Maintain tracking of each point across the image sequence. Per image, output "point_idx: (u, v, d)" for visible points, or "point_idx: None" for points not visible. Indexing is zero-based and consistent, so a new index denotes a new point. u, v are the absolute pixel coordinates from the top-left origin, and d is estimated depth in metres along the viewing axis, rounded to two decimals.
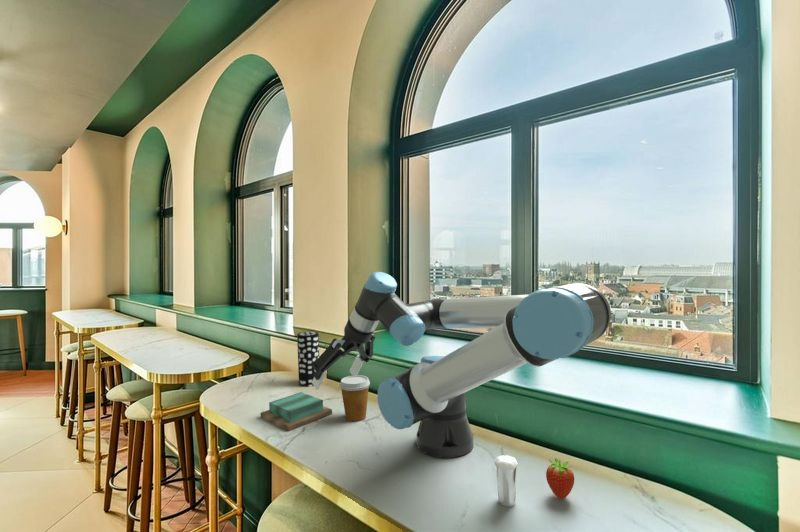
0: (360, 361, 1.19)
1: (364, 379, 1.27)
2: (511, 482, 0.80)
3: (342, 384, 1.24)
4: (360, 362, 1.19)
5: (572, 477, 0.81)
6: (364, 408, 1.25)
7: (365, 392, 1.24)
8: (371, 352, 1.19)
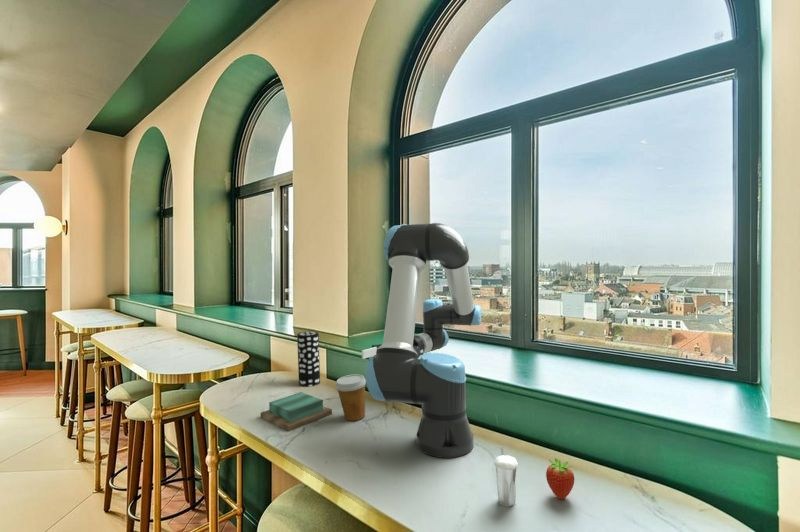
0: None
1: (360, 379, 1.26)
2: (511, 482, 0.80)
3: (336, 384, 1.25)
4: None
5: (572, 477, 0.81)
6: (360, 408, 1.24)
7: (359, 392, 1.23)
8: None
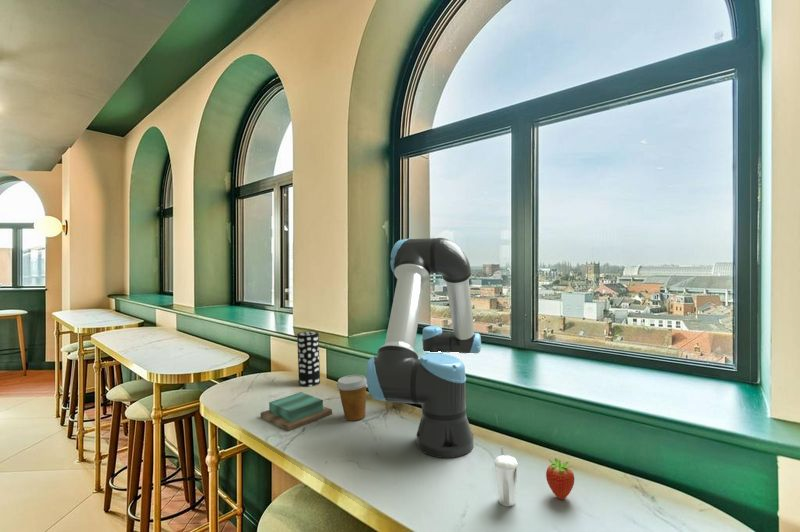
0: None
1: (361, 379, 1.26)
2: (511, 482, 0.80)
3: (337, 383, 1.26)
4: None
5: (572, 477, 0.81)
6: (359, 408, 1.24)
7: (358, 392, 1.23)
8: None
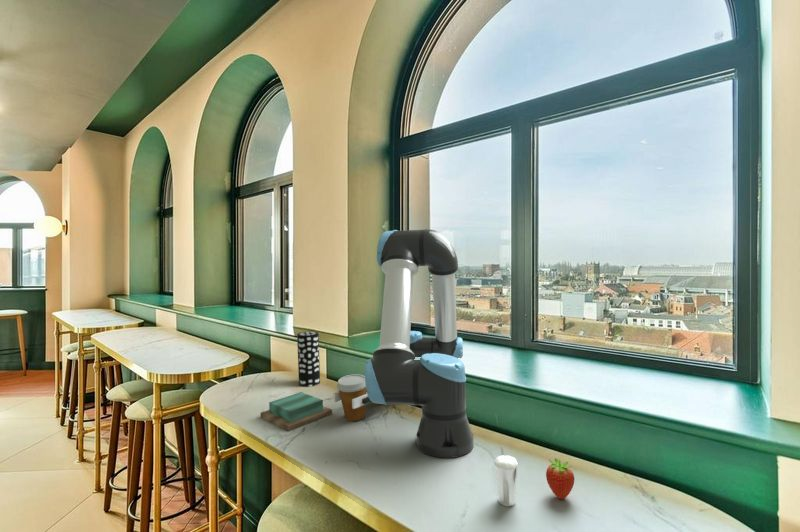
0: None
1: (361, 381, 1.25)
2: (511, 482, 0.80)
3: (338, 382, 1.26)
4: None
5: (572, 477, 0.81)
6: (357, 410, 1.24)
7: (356, 395, 1.22)
8: None
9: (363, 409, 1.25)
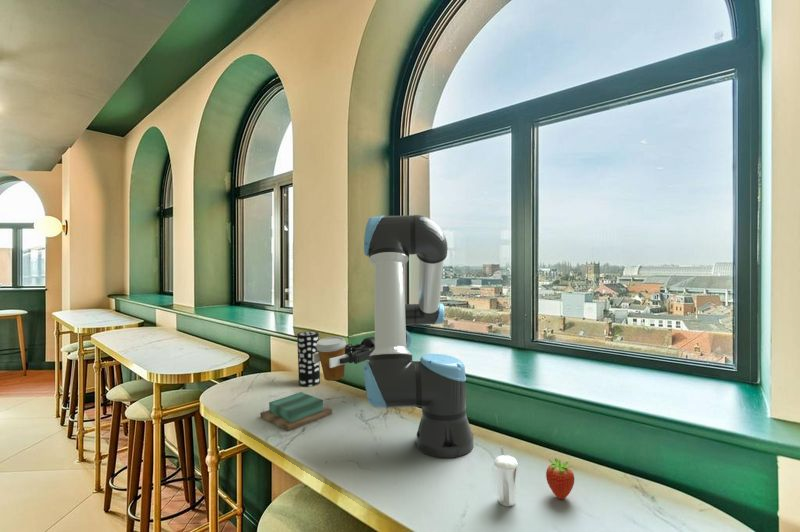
0: None
1: (339, 342, 1.27)
2: (511, 482, 0.80)
3: (317, 343, 1.28)
4: None
5: (572, 477, 0.81)
6: (335, 370, 1.26)
7: (334, 355, 1.25)
8: (359, 354, 1.28)
9: (341, 369, 1.28)
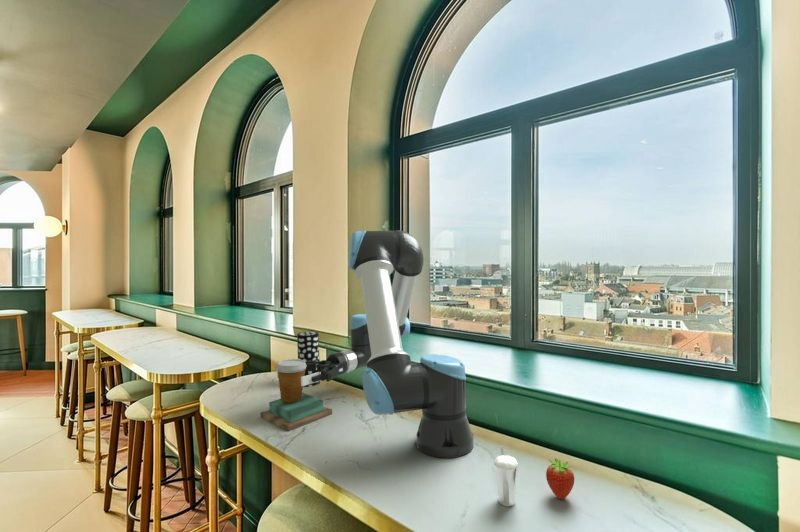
0: None
1: (299, 364, 1.29)
2: (511, 482, 0.80)
3: None
4: None
5: (572, 477, 0.81)
6: (291, 392, 1.27)
7: (291, 376, 1.26)
8: (330, 371, 1.29)
9: (298, 393, 1.28)
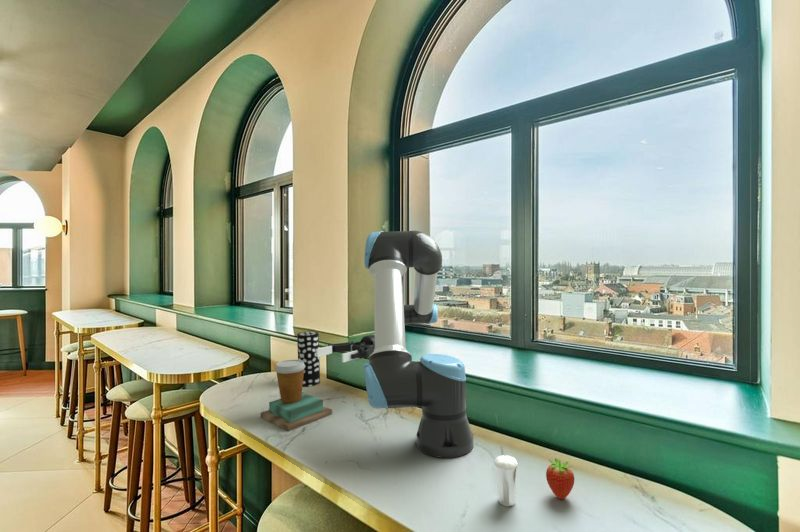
0: None
1: (297, 365, 1.29)
2: (511, 482, 0.80)
3: None
4: None
5: (572, 477, 0.81)
6: (290, 392, 1.27)
7: (289, 377, 1.26)
8: (367, 350, 1.38)
9: (297, 393, 1.28)
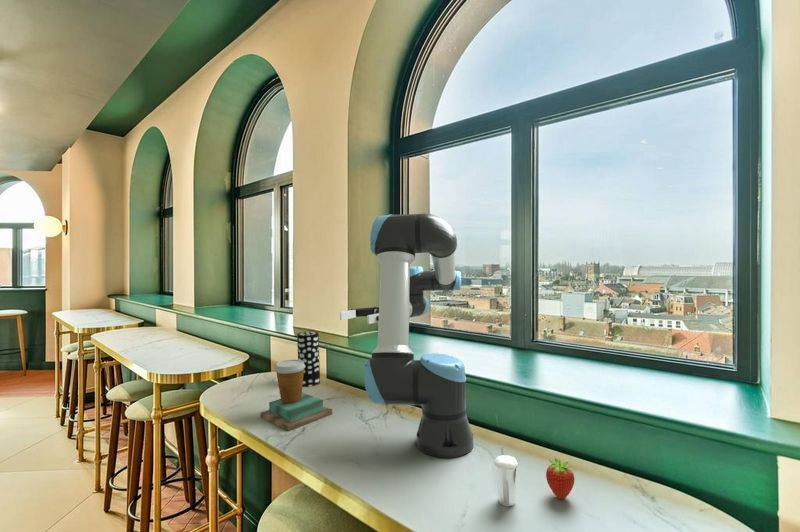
0: None
1: (297, 365, 1.29)
2: (511, 482, 0.80)
3: None
4: None
5: (572, 477, 0.81)
6: (290, 392, 1.27)
7: (289, 377, 1.26)
8: None
9: (297, 393, 1.28)
